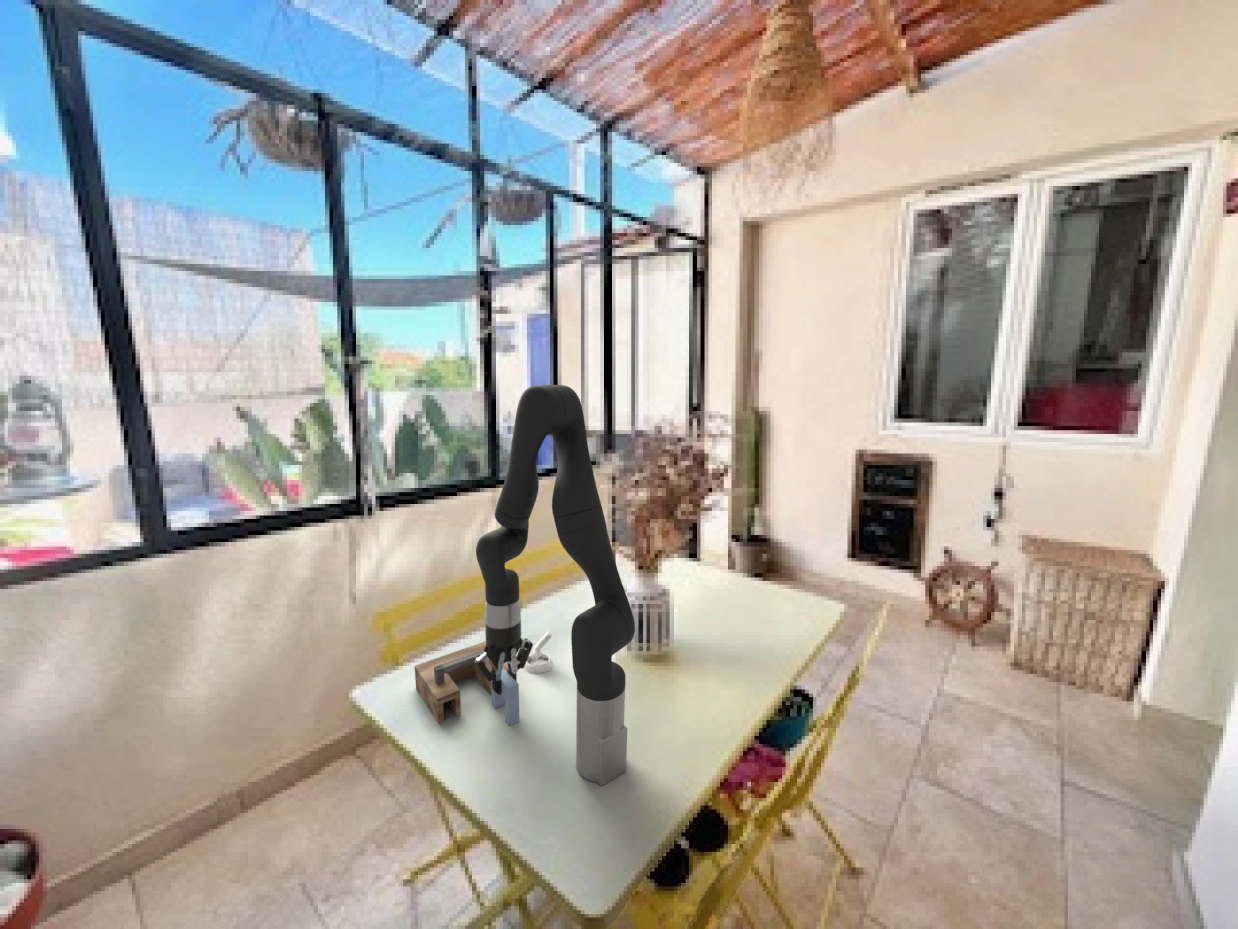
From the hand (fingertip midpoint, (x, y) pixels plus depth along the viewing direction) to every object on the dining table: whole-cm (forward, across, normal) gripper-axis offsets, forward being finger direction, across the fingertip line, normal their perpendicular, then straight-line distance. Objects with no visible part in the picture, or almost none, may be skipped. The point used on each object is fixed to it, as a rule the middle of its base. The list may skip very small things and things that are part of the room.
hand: (504, 689), depth 111 cm
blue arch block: (+6, 0, 0) cm, 6 cm away
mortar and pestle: (+6, +15, +12) cm, 20 cm away
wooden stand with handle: (+6, -4, +13) cm, 15 cm away
